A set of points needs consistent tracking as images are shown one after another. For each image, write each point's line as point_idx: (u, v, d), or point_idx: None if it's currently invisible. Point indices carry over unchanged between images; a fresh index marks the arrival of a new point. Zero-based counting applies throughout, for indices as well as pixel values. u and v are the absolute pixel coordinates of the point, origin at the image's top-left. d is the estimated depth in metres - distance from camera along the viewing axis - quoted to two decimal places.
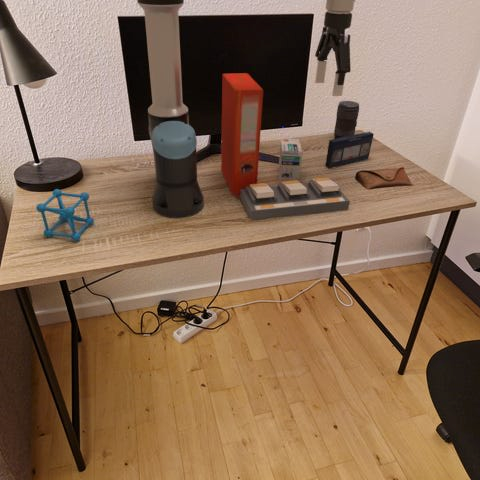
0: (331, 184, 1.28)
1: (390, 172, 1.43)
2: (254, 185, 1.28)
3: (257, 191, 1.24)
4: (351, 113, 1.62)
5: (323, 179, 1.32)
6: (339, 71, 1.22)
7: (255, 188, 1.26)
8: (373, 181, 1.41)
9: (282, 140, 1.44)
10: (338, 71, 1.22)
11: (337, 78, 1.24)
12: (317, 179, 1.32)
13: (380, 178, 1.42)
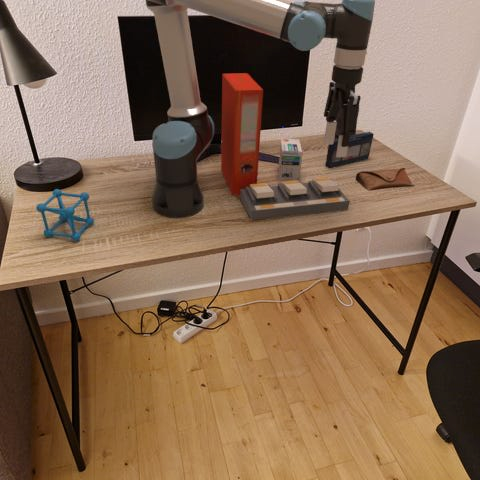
0: (331, 184, 1.28)
1: (390, 173, 1.42)
2: (254, 185, 1.28)
3: (257, 191, 1.24)
4: None
5: (323, 179, 1.32)
6: (343, 134, 1.13)
7: (255, 188, 1.26)
8: (374, 182, 1.40)
9: (282, 140, 1.44)
10: (342, 134, 1.13)
11: (341, 139, 1.15)
12: (317, 179, 1.32)
13: (381, 179, 1.41)
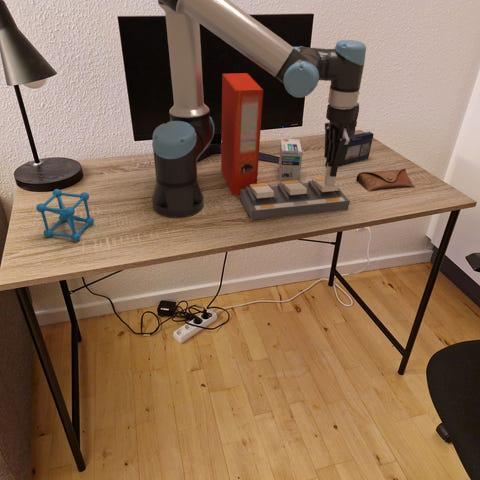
0: None
1: (391, 174, 1.42)
2: (254, 185, 1.28)
3: (257, 191, 1.24)
4: None
5: (323, 179, 1.32)
6: (331, 165, 1.22)
7: (255, 188, 1.26)
8: (375, 183, 1.40)
9: (282, 140, 1.44)
10: (330, 166, 1.22)
11: (330, 170, 1.24)
12: (317, 179, 1.32)
13: (381, 180, 1.40)
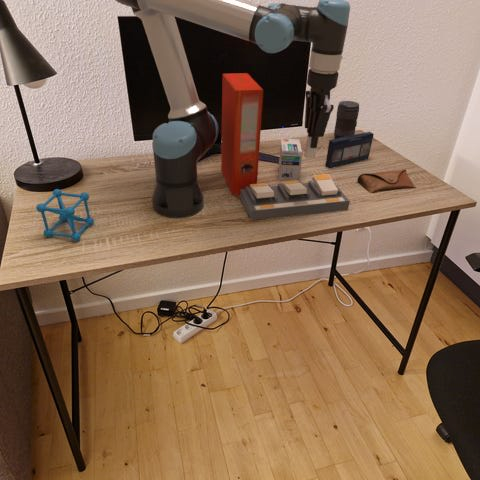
0: (331, 188, 1.29)
1: (392, 175, 1.41)
2: (254, 185, 1.28)
3: (257, 191, 1.24)
4: (351, 113, 1.62)
5: (324, 177, 1.32)
6: (312, 136, 1.16)
7: (255, 188, 1.26)
8: (376, 184, 1.39)
9: (282, 140, 1.44)
10: (310, 136, 1.16)
11: (310, 141, 1.18)
12: (318, 177, 1.32)
13: (383, 181, 1.40)
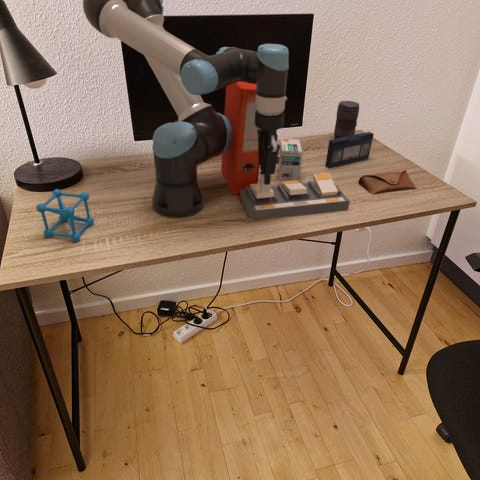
0: (330, 189, 1.29)
1: (393, 176, 1.41)
2: (254, 185, 1.28)
3: (257, 191, 1.24)
4: (351, 113, 1.62)
5: (324, 177, 1.31)
6: (263, 173, 1.18)
7: (255, 188, 1.26)
8: (378, 186, 1.38)
9: (282, 140, 1.44)
10: (262, 173, 1.18)
11: (263, 178, 1.20)
12: (318, 176, 1.31)
13: (384, 182, 1.39)
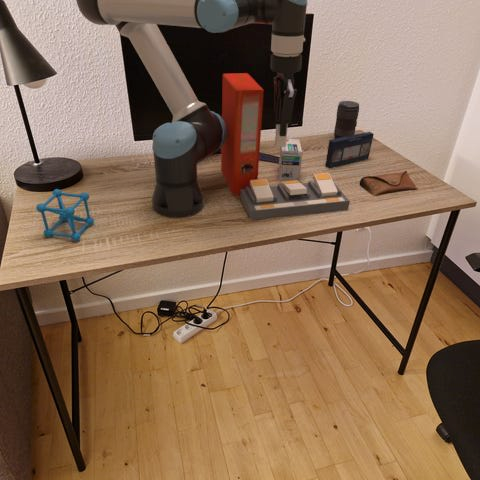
0: (330, 189, 1.29)
1: (394, 177, 1.40)
2: (255, 183, 1.27)
3: (257, 195, 1.24)
4: (351, 113, 1.62)
5: (324, 177, 1.31)
6: (279, 123, 1.12)
7: (255, 189, 1.26)
8: (379, 187, 1.37)
9: None
10: (278, 123, 1.12)
11: (279, 129, 1.14)
12: (318, 176, 1.31)
13: (386, 183, 1.38)
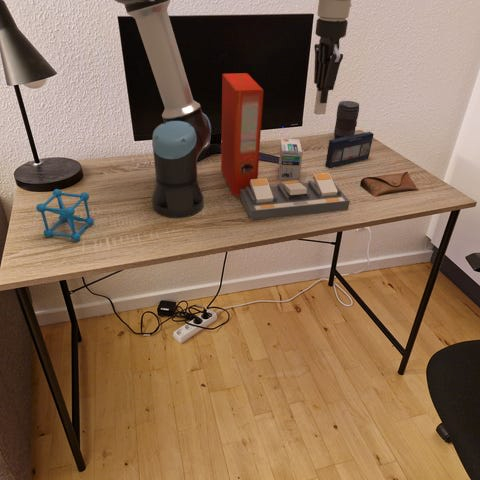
0: (330, 189, 1.29)
1: (395, 178, 1.40)
2: (255, 183, 1.27)
3: (257, 196, 1.24)
4: (351, 113, 1.62)
5: (324, 177, 1.31)
6: (321, 90, 1.14)
7: (255, 189, 1.26)
8: (380, 188, 1.37)
9: (282, 140, 1.44)
10: (320, 90, 1.14)
11: (320, 96, 1.16)
12: (318, 176, 1.31)
13: (386, 184, 1.38)
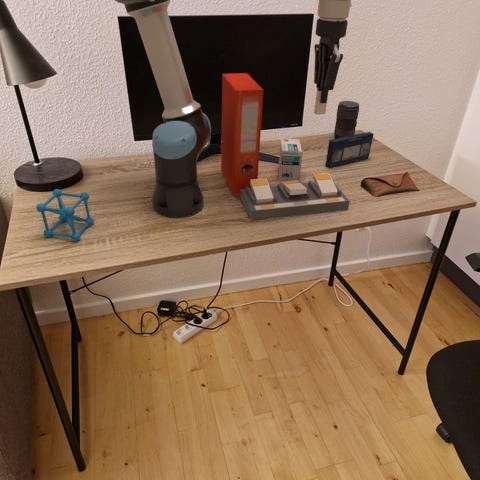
0: (330, 189, 1.29)
1: (396, 178, 1.39)
2: (255, 183, 1.27)
3: (257, 196, 1.24)
4: (351, 113, 1.62)
5: (324, 177, 1.31)
6: (321, 90, 1.14)
7: (255, 189, 1.26)
8: (380, 188, 1.37)
9: (282, 140, 1.44)
10: (320, 90, 1.14)
11: (320, 96, 1.16)
12: (318, 176, 1.31)
13: (387, 185, 1.38)
